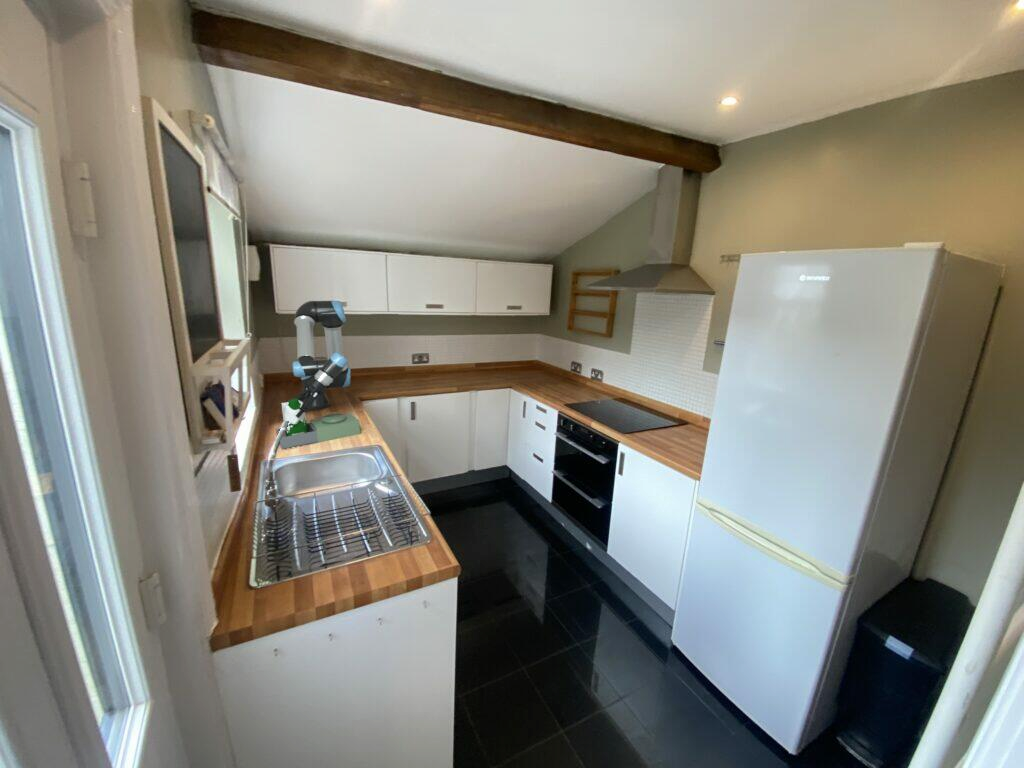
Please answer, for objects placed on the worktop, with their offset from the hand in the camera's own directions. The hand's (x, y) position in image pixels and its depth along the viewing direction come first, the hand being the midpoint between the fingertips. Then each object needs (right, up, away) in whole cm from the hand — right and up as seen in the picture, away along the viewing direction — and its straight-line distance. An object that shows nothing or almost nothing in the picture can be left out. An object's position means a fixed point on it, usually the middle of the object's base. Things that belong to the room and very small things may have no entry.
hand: (288, 418), depth 183 cm
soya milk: (+2, -11, +4) cm, 11 cm away
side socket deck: (+9, -10, +10) cm, 17 cm away
